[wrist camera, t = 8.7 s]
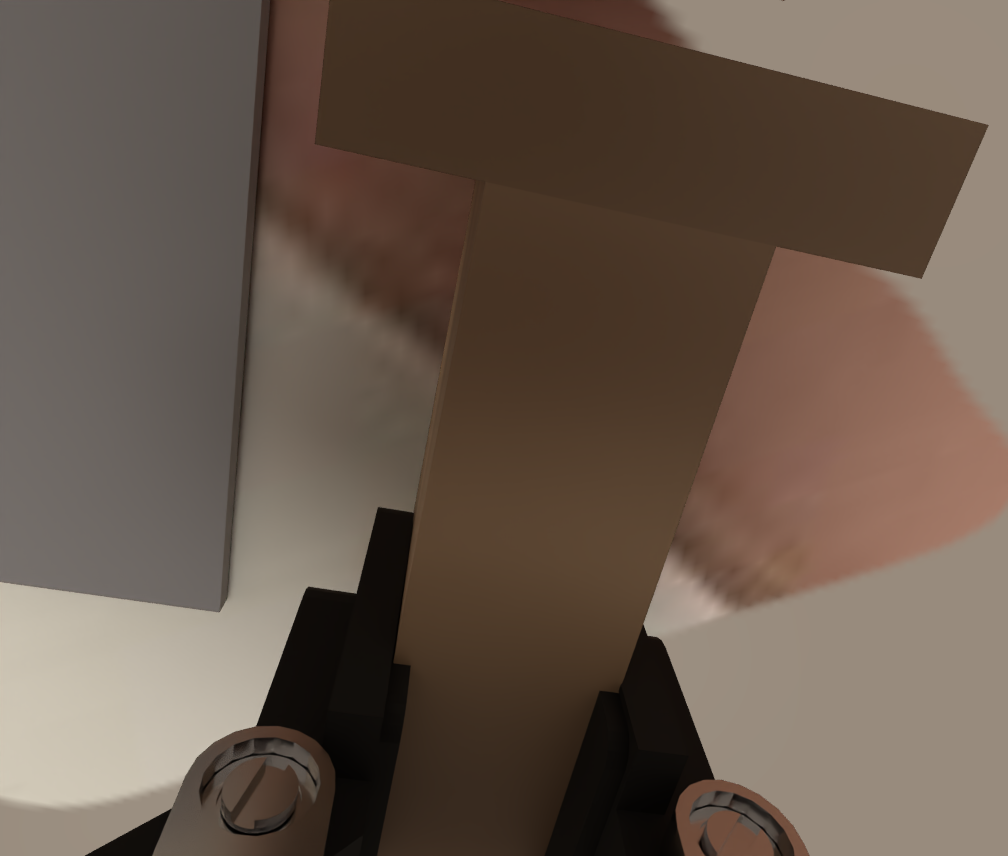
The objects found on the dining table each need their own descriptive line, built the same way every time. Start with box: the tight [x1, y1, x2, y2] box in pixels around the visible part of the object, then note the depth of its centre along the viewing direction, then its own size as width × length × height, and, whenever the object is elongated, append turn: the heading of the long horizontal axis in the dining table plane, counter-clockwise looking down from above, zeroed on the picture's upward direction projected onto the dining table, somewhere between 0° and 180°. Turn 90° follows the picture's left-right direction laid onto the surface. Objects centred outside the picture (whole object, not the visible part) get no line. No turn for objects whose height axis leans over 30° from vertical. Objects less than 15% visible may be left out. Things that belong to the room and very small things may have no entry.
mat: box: [0, 0, 270, 612], centre depth 12 cm, size 20×8×1 cm, turn 168°
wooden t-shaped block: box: [315, 0, 988, 856], centre depth 10 cm, size 16×5×4 cm, turn 168°
